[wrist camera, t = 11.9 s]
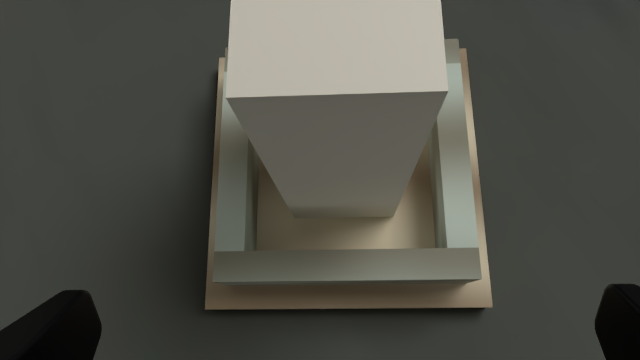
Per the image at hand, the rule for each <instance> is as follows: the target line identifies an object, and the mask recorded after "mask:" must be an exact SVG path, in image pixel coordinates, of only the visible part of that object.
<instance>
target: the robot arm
mask: <svg viewBox="0 0 640 360" xmlns="http://www.w3.org/2000/svg"><path fill="white" fill-rule="evenodd" d="M101 330H102V327H101V321H100V318H99V316H98V313H97V310H96V308H95V305H94V302H93V300H92V297H91V295H90V293H89V292H87V291H85V290H65V291H62V292H60V293H58V294H57V295H55V296H54V297H52V298H50V299H49V300H47V301H46V302H44V303H43V304H41V305H40V306H38V307H37V308H35V309H33V310H32V311H30V312H29V313H27V314H26V315H24V316H23V317H21V318H19V319H18V320H16V321H15V322H13V323H12V324H10V325H9V326H7V327H6V328H4V329H2V330H1V331H0V360H93V358H94V355H95V352H96V349H97V346H98V343H99V340H100V336H101ZM595 330H596V334H597V337H598V340H599V342H600V345H601V348H602V350H603V353H604V356H605V358H606V360H640V287H639V286H637V285H635V284H610V285H608V286H607V287H606V288H605V290H604V292H603V296H602V299H601V302H600V305H599V308H598V311H597V314H596V318H595Z"/></svg>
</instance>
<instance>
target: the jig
mask: <svg viewBox="0 0 640 360" xmlns="http://www.w3.org/2000/svg"><path fill="white" fill-rule="evenodd" d="M444 45H445V57H446V69H447V80H448V93H447V95H446V98H445V100H444V102H443V104H442V107H441V109H440V111H439V114H438V116H437V118H436V121H435V123H434V125H433V127H432V130H431V132H430V134H429V137H428V139H427V141H426V143H425V146H424V148H423V150H422V153H421V155H420V157H419V159H418V162H417V164H416V166H415V169H414V171H413V173H412V175H411V178H410V180H409V182H408V185H407V187H406V189H405V192H404V194H403V196H402V198H401V201H400V203H399V205H398V208H397V210H396V212H395V214H394V217H345V218H294V217H293V215H292V213H291V211H290V210H289V208H288V206H287V204H286V203H285V201H284V199H283V197H282V196H281V194H280V192H279V190H278V189H277V187H276V185H275V183H274V182H273V180H272V178H271V176H270V175H269V173H268V171H267V169H266V168H265V166H264V164H263V162H262V161H261V159H260V157H259V155H258V154H257V152H256V150H255V148H254V147H253V145H252V143H251V141H250V140H249V138H248V136H247V134H246V133H245V131H244V129H243V127H242V126H241V124H240V122H239V120H238V119H237V117H236V115H235V113H234V112H233V110H232V108H231V106H230V105H229V103H228V101H227V99H226V81H227V64H228V48H225V58H219V74H218V91H217V108H216V125H215V142H214V160H213V177H212V194H211V211H210V228H209V245H208V262H207V280H206V297H205V309H206V310H242V309H373V308H488V307H493V306H492V297H491V287H490V277H489V268H488V258H487V248H486V238H485V229H484V219H483V209H482V200H481V190H480V180H479V171H478V161H477V151H476V142H475V132H474V122H473V112H472V103H471V93H470V83H469V74H468V64H467V54H466V49H459V42H458V39H444Z"/></svg>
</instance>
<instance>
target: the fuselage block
mask: <svg viewBox="0 0 640 360" xmlns="http://www.w3.org/2000/svg"><path fill="white" fill-rule="evenodd" d="M447 93H448V80H447V69H446V57H445V45H444V34H443V22H442V10H441V0H231V11H230V28H229V46H228V64H227V81H226V99H227V101H228V103H229V105H230V106H231V108H232V110H233V112H234V113H235V115H236V117H237V119H238V120H239V122H240V124H241V126H242V127H243V129H244V131H245V133H246V134H247V136H248V138H249V140H250V141H251V143H252V145H253V147H254V148H255V150H256V152H257V154H258V155H259V157H260V159H261V161H262V162H263V164H264V166H265V168H266V169H267V171H268V173H269V175H270V176H271V178H272V180H273V182H274V183H275V185H276V187H277V189H278V190H279V192H280V194H281V196H282V197H283V199H284V201H285V203H286V204H287V206H288V208H289V210H290V211H291V213H292V215H293V217H294V218H345V217H394V214H395V212H396V210H397V208H398V205H399V203H400V201H401V198H402V196H403V194H404V192H405V189H406V187H407V185H408V182H409V180H410V178H411V175H412V173H413V171H414V169H415V166H416V164H417V162H418V159H419V157H420V155H421V153H422V150H423V148H424V146H425V143H426V141H427V139H428V137H429V134H430V132H431V130H432V127H433V125H434V123H435V121H436V118H437V116H438V114H439V111H440V109H441V107H442V104H443V102H444V100H445V98H446V95H447Z"/></svg>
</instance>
